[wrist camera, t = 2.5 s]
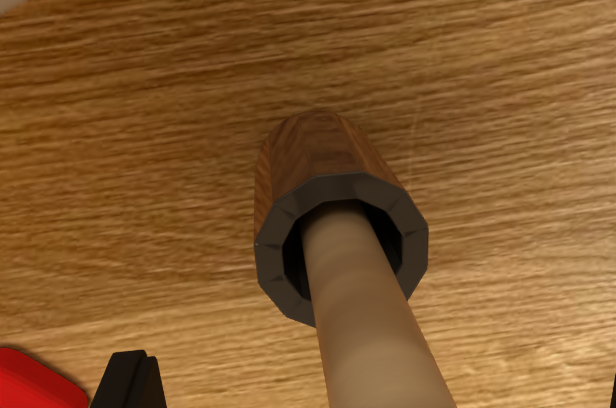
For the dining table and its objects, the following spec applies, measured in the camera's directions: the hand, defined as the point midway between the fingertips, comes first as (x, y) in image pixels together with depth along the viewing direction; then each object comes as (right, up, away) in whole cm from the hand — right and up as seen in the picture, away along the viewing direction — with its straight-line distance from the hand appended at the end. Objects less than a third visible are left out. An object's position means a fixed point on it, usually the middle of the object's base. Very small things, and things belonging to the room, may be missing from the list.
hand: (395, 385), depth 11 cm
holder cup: (-1, +5, +12) cm, 13 cm away
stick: (-1, +2, +5) cm, 5 cm away
